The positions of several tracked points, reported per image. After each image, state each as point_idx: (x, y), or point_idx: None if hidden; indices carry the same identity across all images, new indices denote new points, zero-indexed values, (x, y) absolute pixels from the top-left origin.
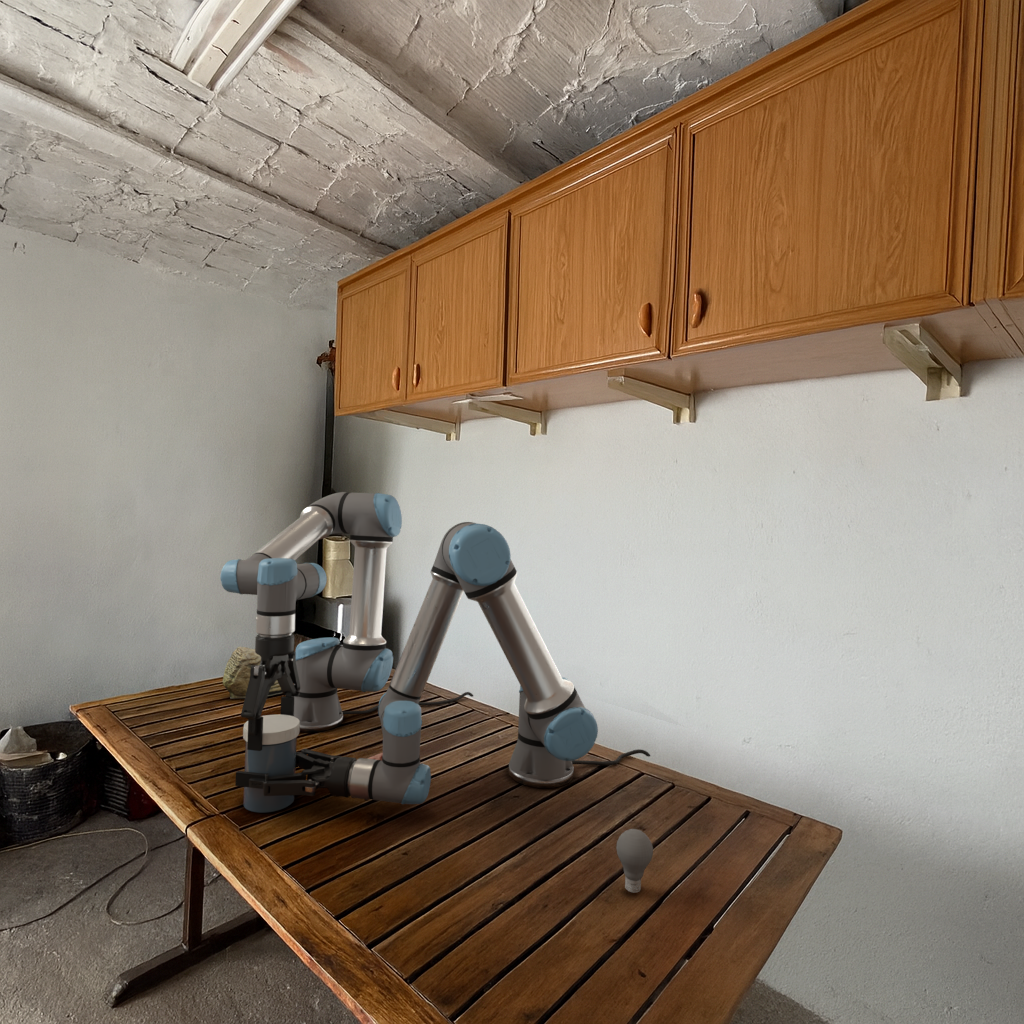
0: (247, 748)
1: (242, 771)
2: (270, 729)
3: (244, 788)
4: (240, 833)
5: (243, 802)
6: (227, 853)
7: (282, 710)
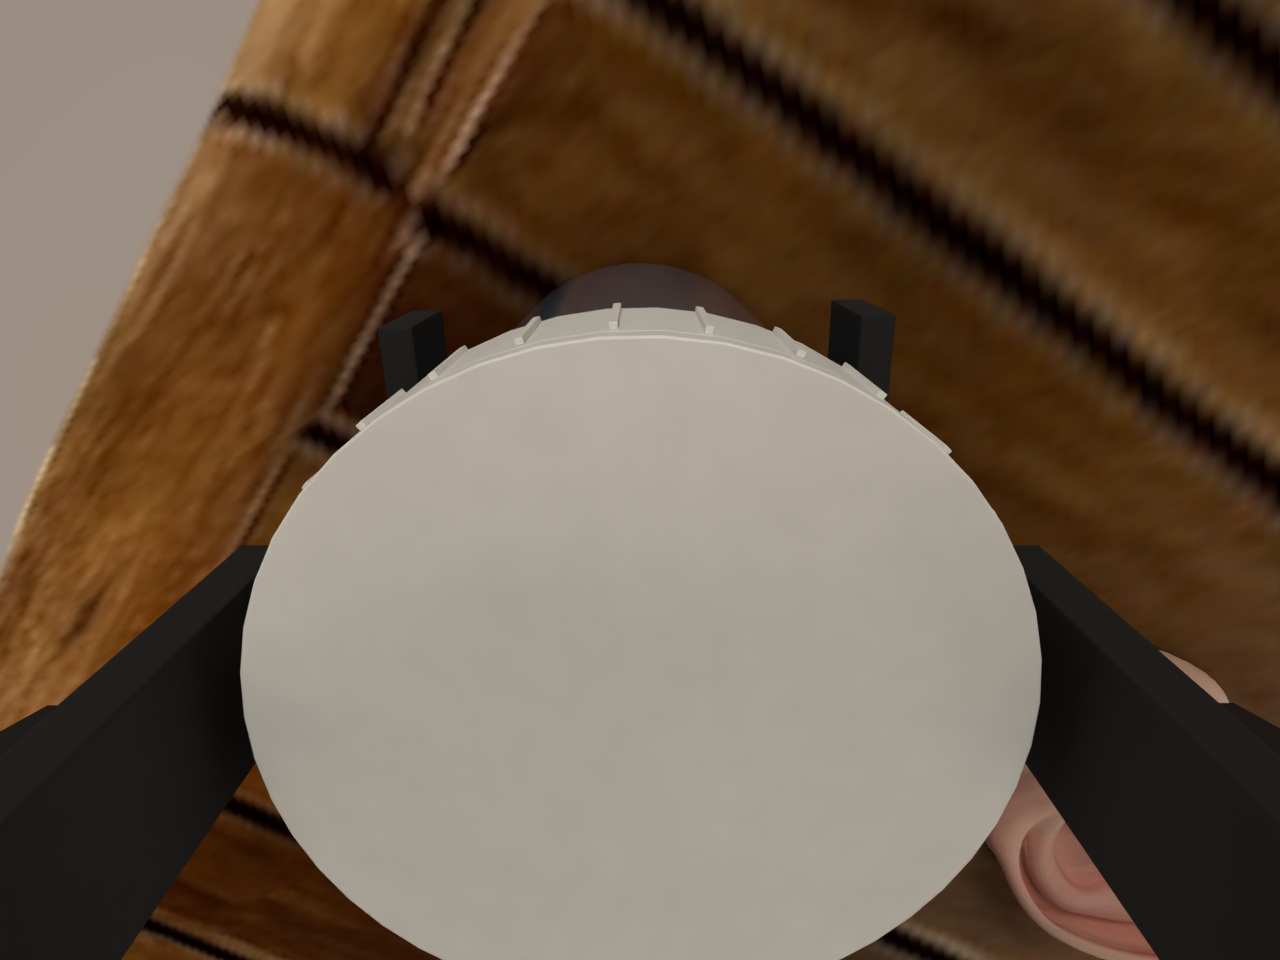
0: (232, 555)
1: (413, 373)
2: (414, 816)
3: (519, 322)
4: (273, 452)
5: (549, 294)
6: (97, 493)
7: (1118, 706)
